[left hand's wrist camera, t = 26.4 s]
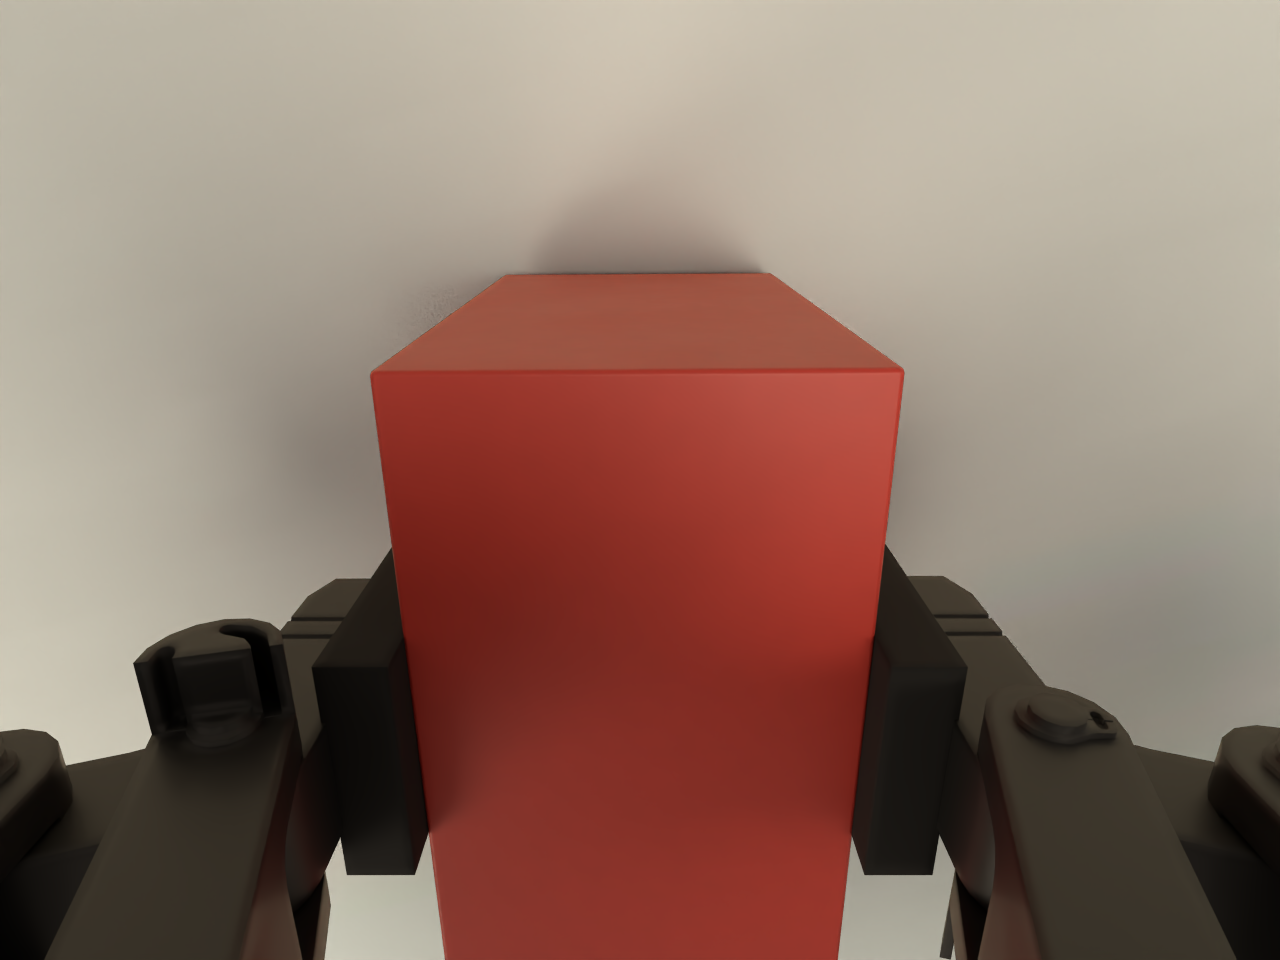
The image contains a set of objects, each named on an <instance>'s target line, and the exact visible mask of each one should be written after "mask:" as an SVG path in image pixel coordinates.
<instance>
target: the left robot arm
mask: <svg viewBox="0 0 1280 960" xmlns="http://www.w3.org/2000/svg"><path fill="white" fill-rule="evenodd" d="M133 664H134V668H135V672H136V676H137V680H138V683H139V687H140V691H141V695H142V699H143V702H144V706H145V710H146V714H147V717H148V721H149V725H150V729H151V733H152V736H151V738H150V740H149V742H148V744H147V746H146V748H145V749H142V750H138V751H134V752H131V753H126V754H121V755H116V756H111V757H106V758H101V759H96V760H91V761H86V762H82V763H77V764H72V765H67V766H66V765H65V762H64V758H63V755H62V752H61V749H60V746H59V743H58V741H57V740H56V739H54V738H53V737H52V736H51V735H49V734H48V733H47V732H42V731H35V730H28V729H19V730H11V731H3V732H0V960H324V958H325V949H326V941H327V933H328V924H329V916H330V908H331V904H330V897H329V890H328V884H327V879H326V873H325V870H326V868H327V866H328V863H329V861H330V859H331V857H332V855H333V852H334V850H335V848H336V846H337V844H338V841H339V839H340V837H341V843H342V849H343V855H344V860H345V866H346V872H347V875H415V873H416V870H417V867H418V864H419V860H420V857H421V854H422V851H423V848H424V845H425V842H426V839H427V836H428V832H429V830H428V822H427V814H426V807H425V799H424V791H423V783H422V775H421V767H420V759H419V752H418V744H417V736H416V728H415V720H414V712H413V705H412V697H411V689H410V681H409V673H408V665H407V657H406V650H405V642H404V635H403V628H402V620H401V613H400V605H399V597H398V589H397V582H396V574H395V566H394V558H393V550H392V548H391V549H390V551H389V552H388V554H387V555H386V557H385V558H384V560H383V561H382V563H381V564H380V566H379V567H378V569H377V570H376V572H375V573H374V575H373V576H372V578H371V579H335V580H334V581H332V582H330V583H329V584H327V585H325V586H324V587H322V588H321V589H319V590H317V591H316V592H314V593H313V594H311V595H309V596H308V597H307V598H306V599H305V601H304V602H303V603H302V604H301V606H300V607H299V608H298V609H297V611H296V612H295V613H294V615H293V616H292V617H291V621H288V622H287V623H286V625H285V626H284V627H283V628H282V630H281V631H280V630H278V629H277V628H276V627H274V626H273V625H272V624H270V623H268V622H263V621H259V620H254V619H223V620H219V621H214V622H209V623H204V624H199V625H195V626H192V627H190V628H187V629H184V630H182V631H179V632H176V633H174V634H171V635H169V636H167V637H165V638H164V639H162V640H160V641H159V642H157V643H155V644H154V645H152V646H150V647H149V648H147V649H146V650H145V651H144V652H143V653H142V654H141V655H140V657H139V658H138V659H137V660H136V661H135V662H134V663H133ZM851 834H852V837H853V841H854V844H855V847H856V850H857V853H858V856H859V859H860V862H861V865H862V868H863V872H864V875H932V874H933V869H934V863H935V857H936V851H937V845H938V839H939V834H940V837H941V839H942V841H943V843H944V845H945V847H946V850H947V852H948V854H949V856H950V858H951V861H952V863H953V865H954V867H955V873H954V879H953V884H952V889H951V895H950V900H949V906H948V911H947V917H946V922H945V927H944V933H943V938H942V945H941V952H940V957H941V958H946V959H950V960H951V955H952V950H953V944H954V947H955V956H956V960H1280V728H1276V727H1267V726H1259V725H1255V726H1247V727H1240V728H1234V729H1233V730H1232V731H1230V732H1229V733H1228V734H1226V735H1225V736H1224V737H1222V740H1221V743H1220V746H1219V750H1218V753H1217V756H1216V759H1215V762H1211V761H1206V760H1201V759H1196V758H1191V757H1186V756H1181V755H1176V754H1171V753H1166V752H1161V751H1156V750H1151V749H1148V748H1144V747H1140V746H1136V745H1133V743H1132V741H1131V739H1130V736H1129V734H1128V733H1127V732H1126V730H1125V729H1124V728H1123V727H1122V725H1121V724H1120V723H1119V722H1118V720H1117V719H1116V718H1115V717H1114V716H1113V715H1111V714H1110V713H1108V712H1107V711H1105V710H1104V709H1103V708H1101V707H1100V706H1098V705H1097V704H1095V703H1094V702H1092V701H1089V700H1087V699H1085V698H1082V697H1080V696H1078V695H1075V694H1073V693H1071V692H1069V691H1064V690H1060V689H1056V688H1052V687H1047V686H1045V684H1044V683H1043V682H1042V681H1041V679H1040V678H1039V677H1038V676H1037V674H1036V673H1035V672H1034V671H1033V669H1032V668H1031V667H1030V666H1029V664H1028V663H1027V662H1026V661H1025V659H1024V658H1023V657H1022V656H1021V654H1020V653H1019V652H1018V651H1017V649H1016V648H1015V647H1014V646H1013V644H1012V643H1011V642H1010V641H1009V639H1008V638H1007V637H1006V636H1002V631H1001V629H1000V628H999V627H998V626H997V624H996V623H995V622H994V621H993V619H992V618H989V617H988V613H987V612H986V611H985V609H984V608H983V607H982V606H981V604H980V603H979V602H978V601H977V599H976V598H975V597H974V596H973V594H971V593H970V592H968V591H967V590H965V589H963V588H962V587H960V586H959V585H957V584H955V583H954V582H952V581H950V580H949V579H947V578H946V577H944V576H906V574H905V573H904V571H903V570H902V568H901V567H900V565H899V564H898V562H897V561H896V559H895V558H894V556H893V555H892V553H891V552H890V550H889V549H888V547H887V546H886V544H885V548H884V557H883V566H882V575H881V583H880V592H879V601H878V610H877V619H876V627H875V635H874V644H873V653H872V661H871V670H870V679H869V687H868V696H867V705H866V714H865V722H864V731H863V740H862V748H861V757H860V766H859V774H858V783H857V791H856V800H855V808H854V816H853V825H852V833H851Z"/></svg>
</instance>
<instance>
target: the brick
mask: <svg viewBox="0 0 1280 960" xmlns="http://www.w3.org/2000/svg"><path fill="white" fill-rule="evenodd" d="M370 379H371V387H372V395H373V403H374V411H375V418H376V426H377V434H378V442H379V449H380V457H381V465H382V473H383V480H384V488H385V496H386V504H387V512H388V519H389V527H390V535H391V543H392V550H393V558H394V566H395V574H396V582H397V589H398V597H399V605H400V613H401V620H402V628H403V635H404V642H405V650H406V657H407V665H408V673H409V681H410V689H411V697H412V705H413V712H414V720H415V728H416V736H417V744H418V752H419V759H420V767H421V775H422V783H423V791H424V799H425V807H426V814H427V822H428V830H429V838H430V846H431V854H432V861H433V869H434V877H435V885H436V892H437V900H438V908H439V916H440V924H441V931H442V939H443V947H444V955H445V960H838V952H839V943H840V935H841V926H842V917H843V908H844V899H845V891H846V882H847V873H848V864H849V856H850V847H851V838H852V834H851V833H852V825H853V816H854V808H855V800H856V791H857V783H858V774H859V766H860V757H861V748H862V740H863V731H864V722H865V714H866V705H867V696H868V687H869V679H870V670H871V661H872V653H873V644H874V635H875V627H876V619H877V610H878V601H879V592H880V583H881V575H882V566H883V557H884V548H885V540H886V531H887V522H888V513H889V504H890V496H891V487H892V478H893V469H894V461H895V452H896V443H897V434H898V425H899V417H900V408H901V399H902V390H903V382H904V370H903V368H902V367H900V366H899V365H897V364H896V363H895V362H893V361H892V360H890V359H889V358H888V357H886V356H885V355H883V354H882V353H881V352H879V351H878V350H876V349H875V348H874V347H872V346H871V345H870V344H868V343H867V342H865V341H864V340H863V339H861V338H860V337H858V336H857V335H856V334H854V333H853V332H851V331H850V330H849V329H847V328H846V327H844V326H843V325H842V324H840V323H839V322H838V321H836V320H835V319H833V318H832V317H831V316H829V315H828V314H826V313H825V312H824V311H822V310H821V309H819V308H818V307H817V306H815V305H814V304H813V303H811V302H810V301H808V300H807V299H806V298H804V297H803V296H801V295H800V294H799V293H797V292H796V291H794V290H793V289H792V288H790V287H789V286H787V285H786V284H785V283H783V282H782V281H781V280H779V279H778V278H776V277H775V276H774V275H772V274H770V273H735V274H575V275H505V276H503V277H502V278H501V279H499V280H498V281H496V282H495V283H494V284H492V285H491V286H490V287H488V288H487V289H485V290H484V291H483V292H481V293H480V294H478V295H477V296H476V297H474V298H473V299H472V300H470V301H469V302H467V303H466V304H465V305H463V306H462V307H461V308H459V309H458V310H456V311H455V312H454V313H452V314H451V315H449V316H448V317H447V318H445V319H444V320H443V321H441V322H440V323H438V324H437V325H436V326H434V327H433V328H431V329H430V330H429V331H427V332H426V333H425V334H423V335H422V336H420V337H419V338H418V339H416V340H415V341H413V342H412V343H411V344H409V345H408V346H407V347H405V348H404V349H402V350H401V351H400V352H398V353H397V354H395V355H394V356H393V357H391V358H390V359H389V360H387V361H386V362H384V363H383V364H382V365H380V366H379V367H377V368H376V369H375V370H373V371H372V372H371V375H370Z"/></svg>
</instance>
